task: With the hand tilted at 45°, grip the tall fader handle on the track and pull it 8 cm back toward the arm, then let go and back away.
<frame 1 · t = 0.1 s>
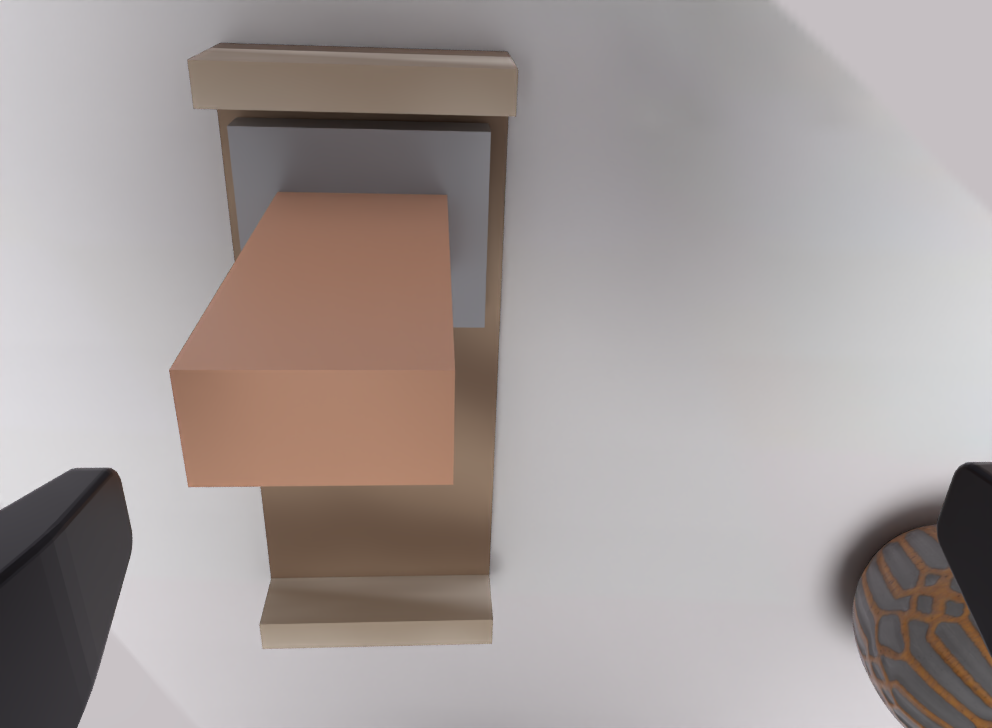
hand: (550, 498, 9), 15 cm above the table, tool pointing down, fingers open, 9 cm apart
fader track: (376, 355, 24), on the table
fader: (349, 297, 17), point 6 cm above the table, slide at 0.0 cm
vase: (916, 565, 30), on the table
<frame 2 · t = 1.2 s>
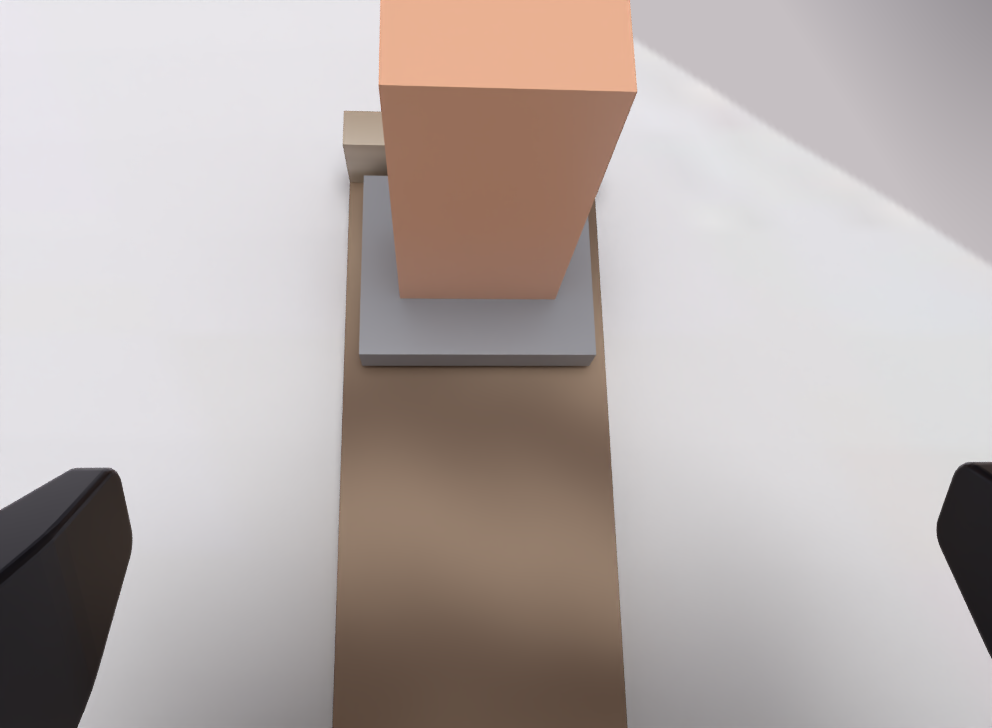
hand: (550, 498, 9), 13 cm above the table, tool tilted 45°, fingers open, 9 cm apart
fader track: (475, 449, 23), on the table
fader: (487, 188, 18), point 6 cm above the table, slide at 0.0 cm
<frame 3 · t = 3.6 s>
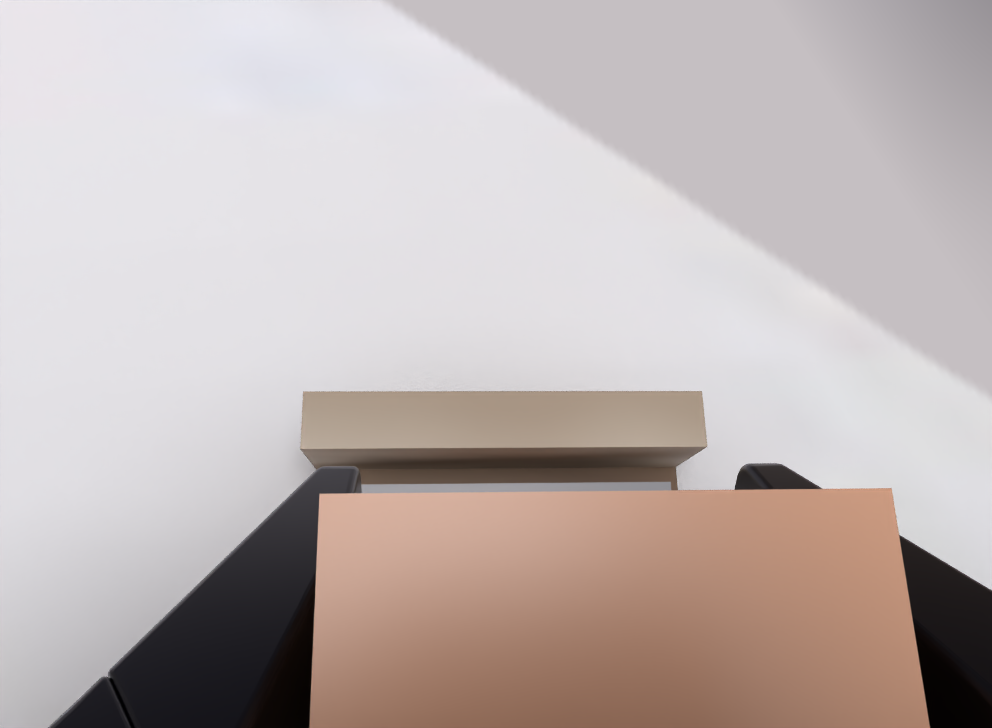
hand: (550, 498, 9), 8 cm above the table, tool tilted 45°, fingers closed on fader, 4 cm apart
fader: (535, 633, 10), point 6 cm above the table, slide at 0.0 cm, touching gripper
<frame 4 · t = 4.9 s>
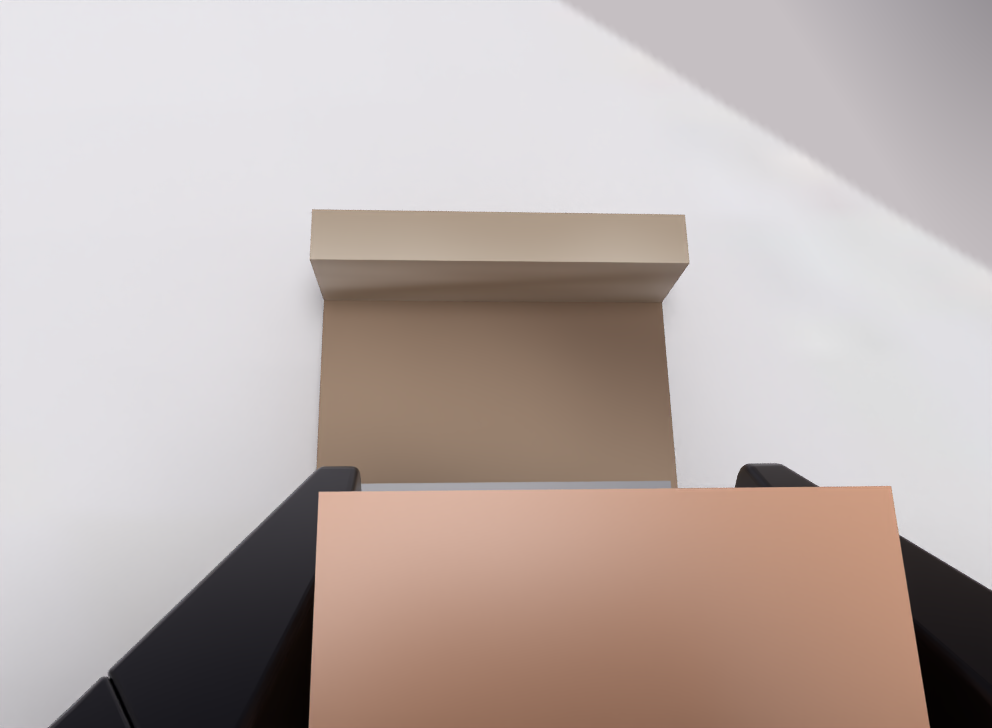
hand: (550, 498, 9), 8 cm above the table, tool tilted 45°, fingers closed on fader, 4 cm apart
fader track: (499, 685, 16), on the table
fader: (535, 632, 10), point 6 cm above the table, slide at 3.5 cm, touching gripper
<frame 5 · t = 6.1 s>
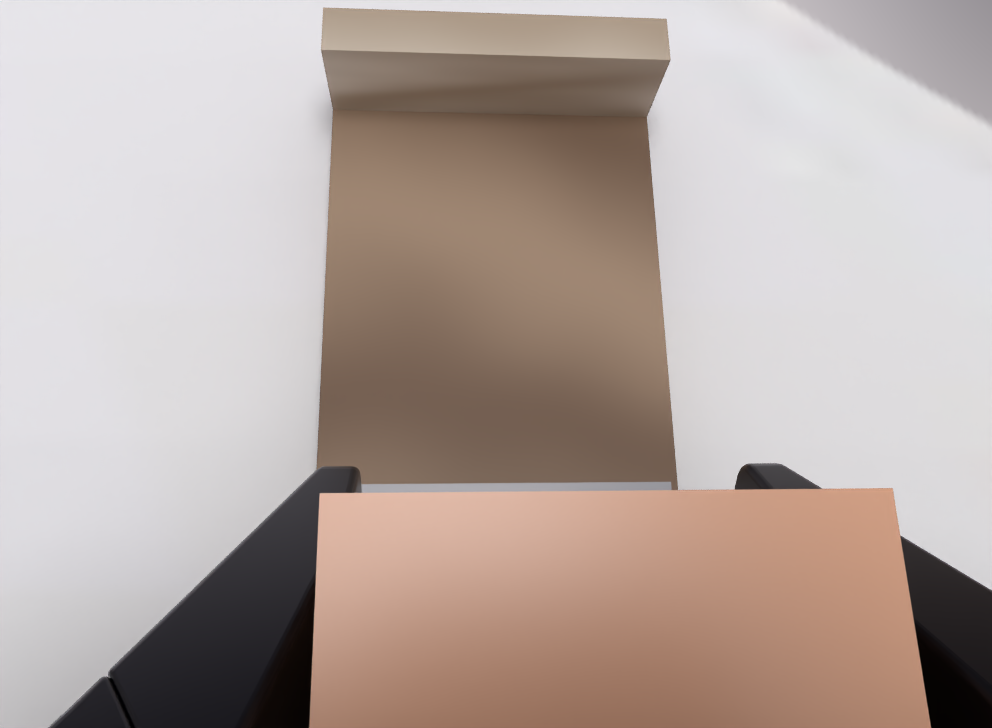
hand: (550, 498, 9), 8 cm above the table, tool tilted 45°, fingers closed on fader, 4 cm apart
fader track: (495, 454, 17), on the table
fader: (535, 633, 10), point 6 cm above the table, slide at 8.0 cm, touching gripper
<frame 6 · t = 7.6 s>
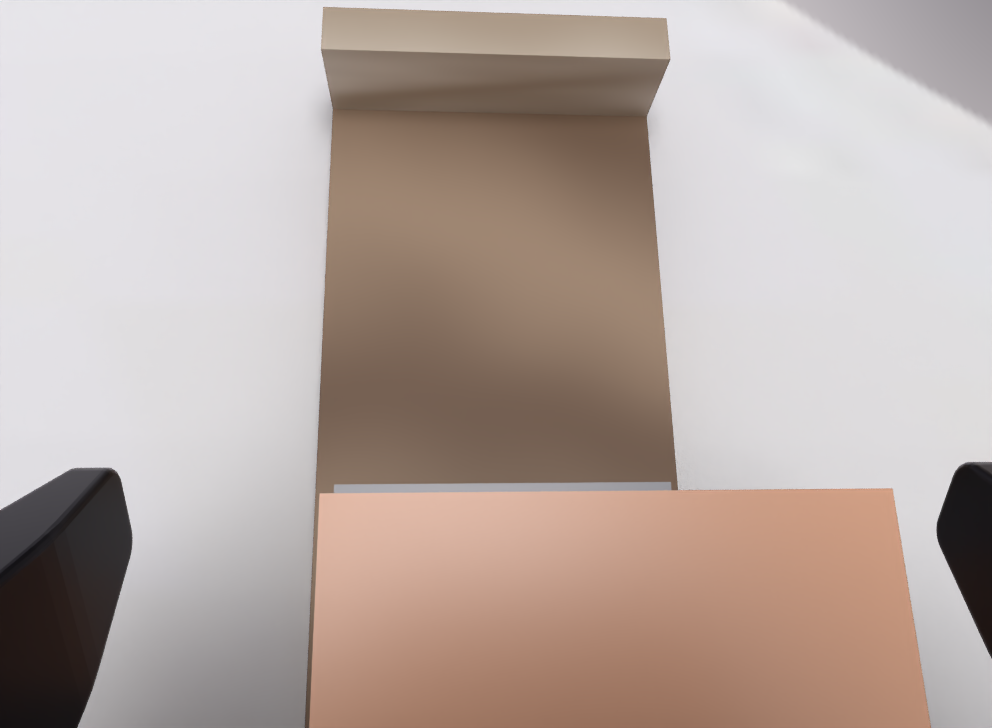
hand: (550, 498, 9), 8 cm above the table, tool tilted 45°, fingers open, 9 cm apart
fader track: (495, 453, 17), on the table
fader: (535, 634, 10), point 6 cm above the table, slide at 8.0 cm
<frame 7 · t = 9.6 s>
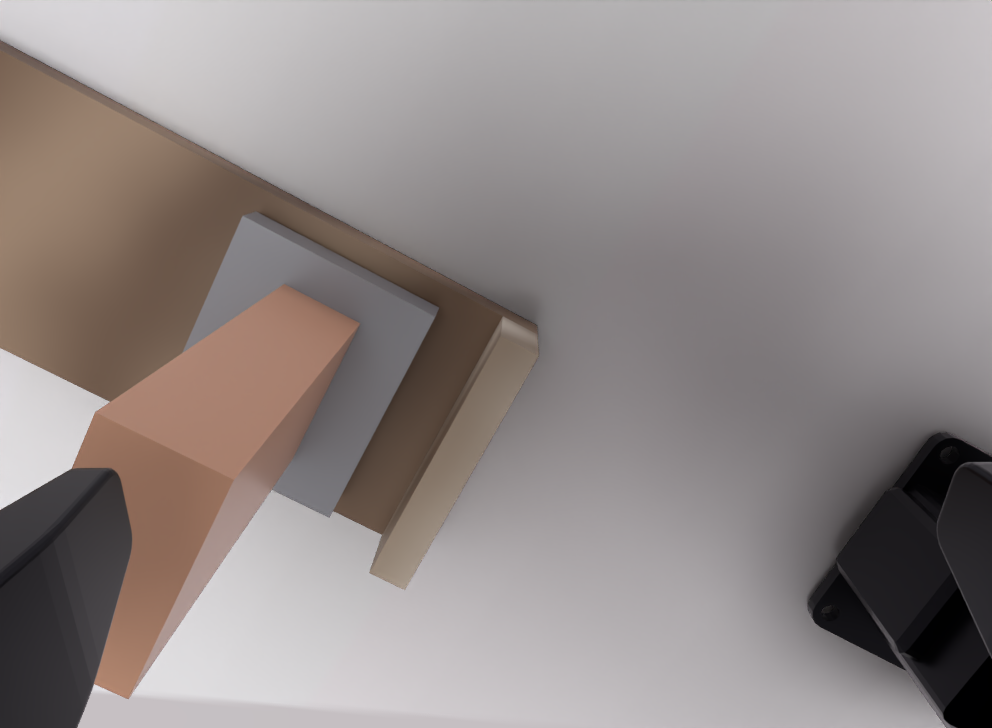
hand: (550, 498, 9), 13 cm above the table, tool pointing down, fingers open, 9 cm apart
fader track: (192, 289, 22), on the table
fader: (233, 433, 16), point 6 cm above the table, slide at 8.0 cm
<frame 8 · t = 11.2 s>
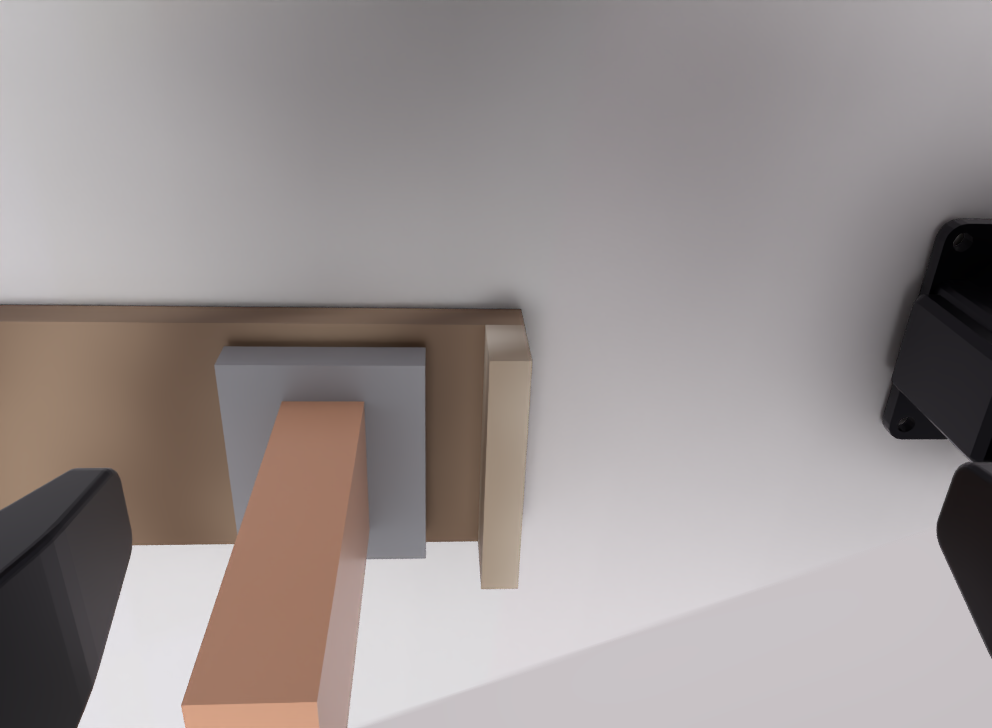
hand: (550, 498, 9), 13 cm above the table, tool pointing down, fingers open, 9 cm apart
fader track: (210, 421, 23), on the table
fader: (305, 576, 18), point 6 cm above the table, slide at 8.0 cm
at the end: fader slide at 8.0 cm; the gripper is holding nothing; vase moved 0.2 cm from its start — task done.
